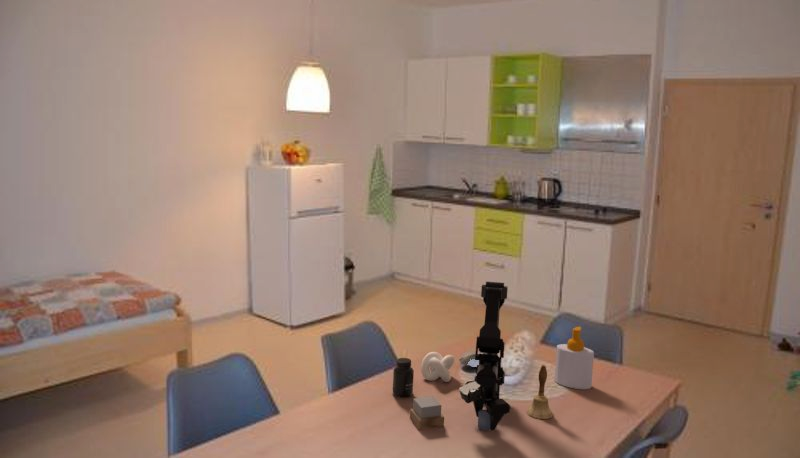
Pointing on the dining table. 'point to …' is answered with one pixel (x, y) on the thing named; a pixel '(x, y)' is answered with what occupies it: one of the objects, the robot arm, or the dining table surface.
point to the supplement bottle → (403, 378)
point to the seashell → (467, 359)
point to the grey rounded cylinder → (483, 420)
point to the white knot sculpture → (436, 366)
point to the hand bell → (540, 399)
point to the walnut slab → (426, 421)
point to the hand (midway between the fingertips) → (485, 423)
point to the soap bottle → (574, 363)
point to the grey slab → (427, 407)
